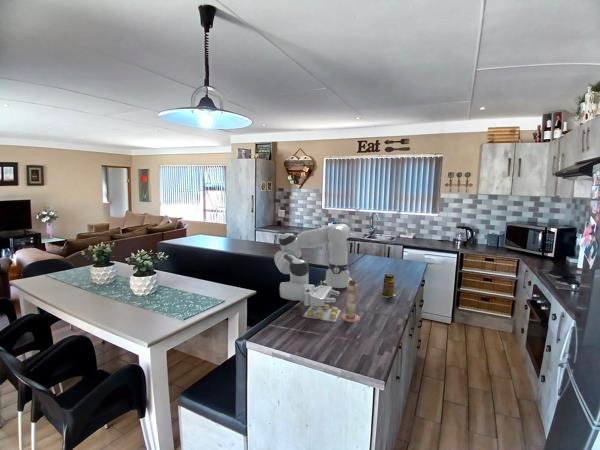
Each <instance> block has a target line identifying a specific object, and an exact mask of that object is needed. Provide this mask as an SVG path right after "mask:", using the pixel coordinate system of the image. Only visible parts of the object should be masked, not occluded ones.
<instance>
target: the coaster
mask: <svg viewBox="0 0 600 450" xmlns="http://www.w3.org/2000/svg"><path fill="white" fill-rule="evenodd" d="M340 319H342V320H343V321H345V322H349V323H357V322H359V321H360V320H361V317H360V316H359V315H357V314H355V319H347V318H346V313H343V314H341V315H340Z"/></svg>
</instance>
